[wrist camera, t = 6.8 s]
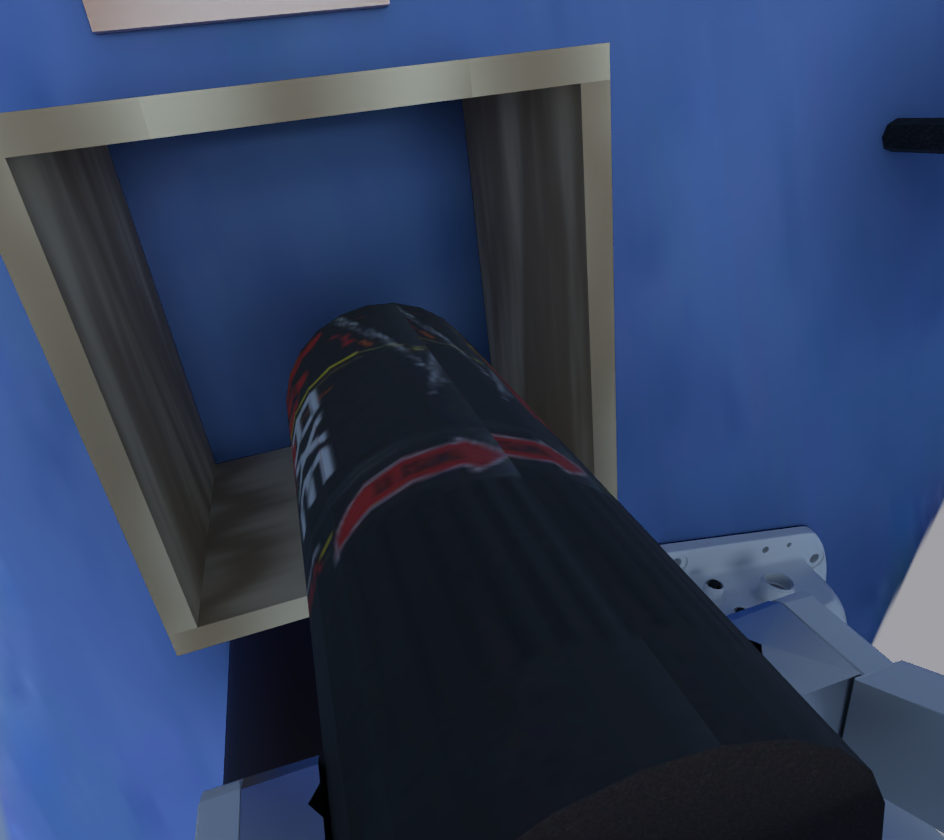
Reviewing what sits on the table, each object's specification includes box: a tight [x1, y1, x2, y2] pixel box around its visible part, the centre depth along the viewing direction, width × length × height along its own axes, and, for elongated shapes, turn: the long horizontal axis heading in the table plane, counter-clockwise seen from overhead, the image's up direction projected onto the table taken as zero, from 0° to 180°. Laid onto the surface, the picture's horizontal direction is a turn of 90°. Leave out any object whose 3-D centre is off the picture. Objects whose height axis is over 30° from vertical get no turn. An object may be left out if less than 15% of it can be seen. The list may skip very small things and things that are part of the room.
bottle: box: [223, 617, 325, 785], centre depth 32 cm, size 7×7×20 cm
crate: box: [0, 43, 617, 656], centre depth 27 cm, size 18×18×13 cm
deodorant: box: [286, 303, 885, 840], centre depth 13 cm, size 6×6×15 cm
